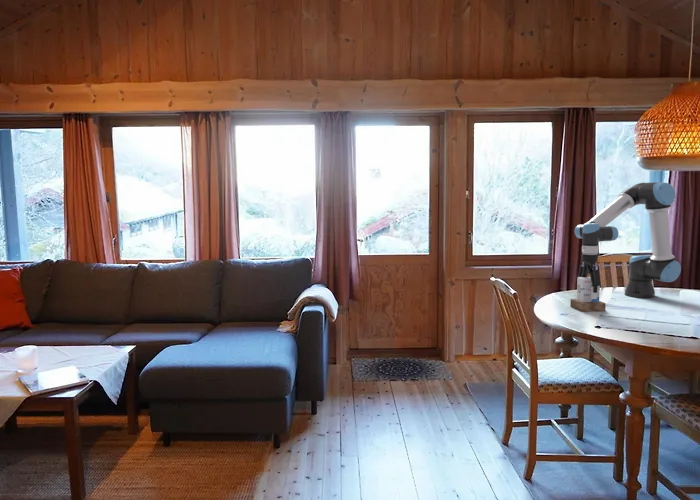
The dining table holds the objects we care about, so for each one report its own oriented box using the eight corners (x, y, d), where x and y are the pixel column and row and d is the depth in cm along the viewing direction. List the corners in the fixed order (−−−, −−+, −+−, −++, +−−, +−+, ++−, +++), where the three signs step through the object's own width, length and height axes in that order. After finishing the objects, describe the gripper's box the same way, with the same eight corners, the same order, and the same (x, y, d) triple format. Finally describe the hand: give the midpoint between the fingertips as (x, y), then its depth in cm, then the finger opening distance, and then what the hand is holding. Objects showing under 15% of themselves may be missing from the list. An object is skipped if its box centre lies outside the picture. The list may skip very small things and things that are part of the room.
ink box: (593, 298, 269) (594, 276, 267) (599, 302, 260) (600, 279, 259) (576, 298, 270) (577, 276, 268) (582, 302, 261) (583, 279, 260)
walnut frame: (592, 305, 272) (592, 297, 271) (605, 311, 260) (605, 302, 259) (570, 306, 271) (570, 298, 270) (582, 311, 259) (582, 303, 258)
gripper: (571, 251, 273) (569, 292, 276) (595, 256, 250) (593, 301, 253) (585, 250, 274) (583, 292, 276) (609, 256, 251) (607, 301, 254)
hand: (588, 296), depth 265 cm, fingers open, 10 cm apart
